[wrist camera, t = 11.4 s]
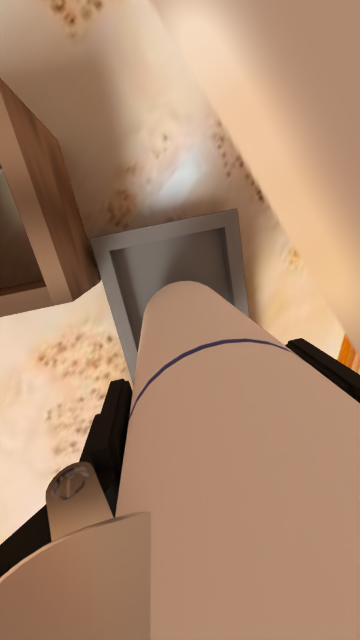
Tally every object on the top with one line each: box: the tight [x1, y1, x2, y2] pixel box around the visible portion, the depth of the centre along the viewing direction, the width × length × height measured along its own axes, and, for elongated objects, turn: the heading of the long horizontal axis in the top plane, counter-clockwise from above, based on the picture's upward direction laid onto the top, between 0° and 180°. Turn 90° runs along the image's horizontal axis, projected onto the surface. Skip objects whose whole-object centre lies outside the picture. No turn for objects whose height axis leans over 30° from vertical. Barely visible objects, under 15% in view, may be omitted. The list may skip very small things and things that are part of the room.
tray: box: [90, 208, 249, 385], centre depth 23 cm, size 16×12×2 cm
